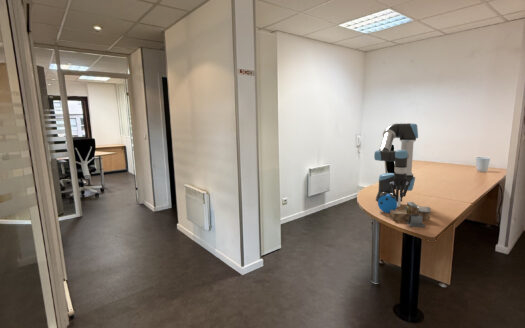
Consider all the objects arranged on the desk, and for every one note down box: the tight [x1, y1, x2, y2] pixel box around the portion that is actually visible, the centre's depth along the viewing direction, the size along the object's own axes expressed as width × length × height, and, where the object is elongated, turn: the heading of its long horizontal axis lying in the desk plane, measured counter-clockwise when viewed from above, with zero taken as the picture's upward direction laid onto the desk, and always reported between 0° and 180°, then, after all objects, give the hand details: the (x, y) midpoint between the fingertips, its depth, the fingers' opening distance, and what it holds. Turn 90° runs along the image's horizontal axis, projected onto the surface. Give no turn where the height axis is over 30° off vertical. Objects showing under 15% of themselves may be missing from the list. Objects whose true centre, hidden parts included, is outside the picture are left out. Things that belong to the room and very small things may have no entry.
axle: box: [417, 206, 431, 214], centre depth 191 cm, size 10×4×4 cm, turn 81°
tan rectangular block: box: [404, 205, 410, 213], centre depth 192 cm, size 5×4×4 cm
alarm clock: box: [377, 192, 398, 214], centre depth 208 cm, size 13×6×15 cm, turn 49°
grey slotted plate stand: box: [405, 215, 426, 228], centre depth 183 cm, size 8×9×6 cm
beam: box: [389, 201, 431, 222], centre depth 193 cm, size 24×8×11 cm, turn 81°
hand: (398, 205), depth 194 cm, fingers closed
